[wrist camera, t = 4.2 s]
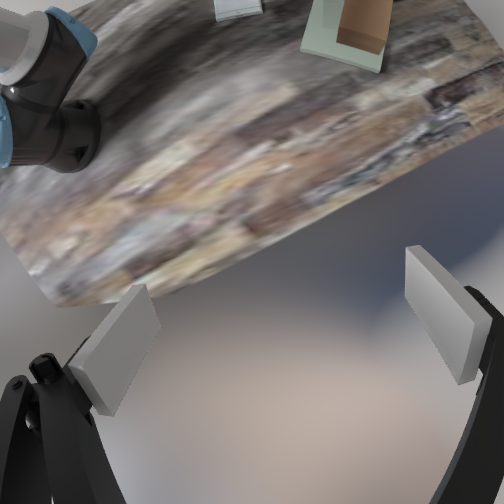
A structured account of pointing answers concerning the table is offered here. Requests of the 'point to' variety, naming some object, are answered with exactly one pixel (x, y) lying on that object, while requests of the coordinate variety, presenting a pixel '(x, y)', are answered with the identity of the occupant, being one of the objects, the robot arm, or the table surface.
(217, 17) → the hard drive
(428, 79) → the table surface
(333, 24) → the sage stand
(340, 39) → the walnut bar
